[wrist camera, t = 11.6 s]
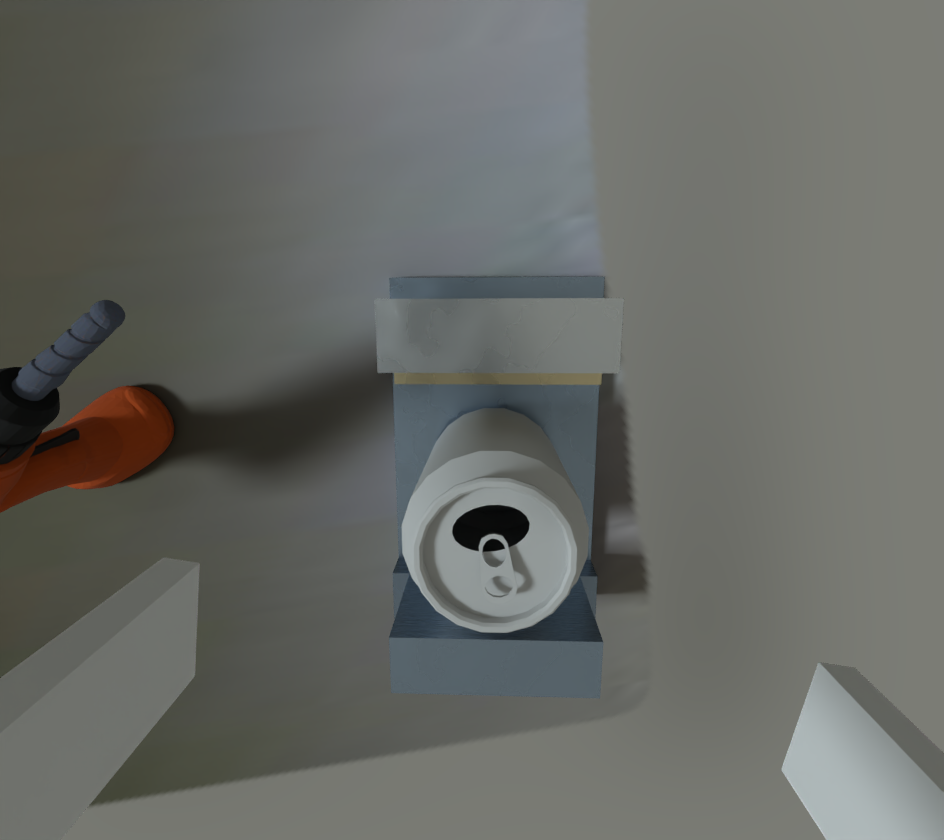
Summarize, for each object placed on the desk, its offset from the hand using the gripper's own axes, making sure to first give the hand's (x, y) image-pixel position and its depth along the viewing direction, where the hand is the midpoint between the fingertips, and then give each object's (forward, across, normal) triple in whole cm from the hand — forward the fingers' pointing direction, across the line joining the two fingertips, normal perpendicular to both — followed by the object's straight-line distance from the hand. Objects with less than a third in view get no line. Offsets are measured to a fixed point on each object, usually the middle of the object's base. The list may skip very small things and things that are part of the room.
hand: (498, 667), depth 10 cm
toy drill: (+21, -20, -1) cm, 29 cm away
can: (+20, 0, -2) cm, 20 cm away
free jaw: (+19, -1, +6) cm, 20 cm away
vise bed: (+20, 0, 0) cm, 20 cm away
